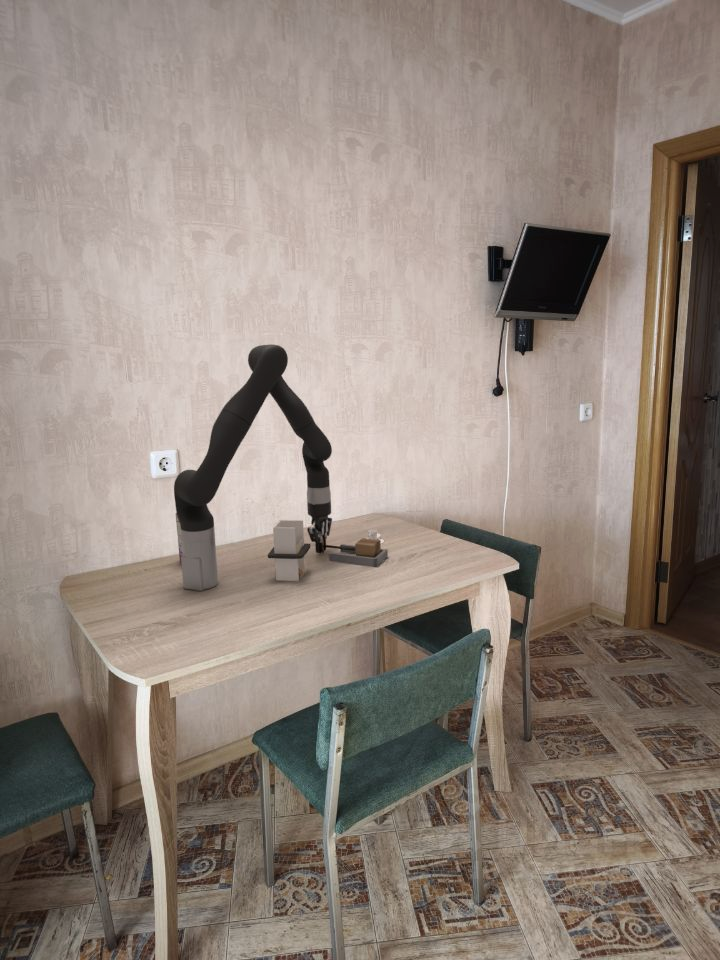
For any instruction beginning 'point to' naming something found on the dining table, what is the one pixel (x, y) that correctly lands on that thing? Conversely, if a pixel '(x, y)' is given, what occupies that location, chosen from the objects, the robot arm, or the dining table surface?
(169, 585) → the dining table surface
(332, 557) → the tray
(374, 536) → the teacup and saucer
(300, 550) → the white collared box
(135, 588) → the dining table surface
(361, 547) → the walnut block
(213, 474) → the robot arm
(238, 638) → the dining table surface
